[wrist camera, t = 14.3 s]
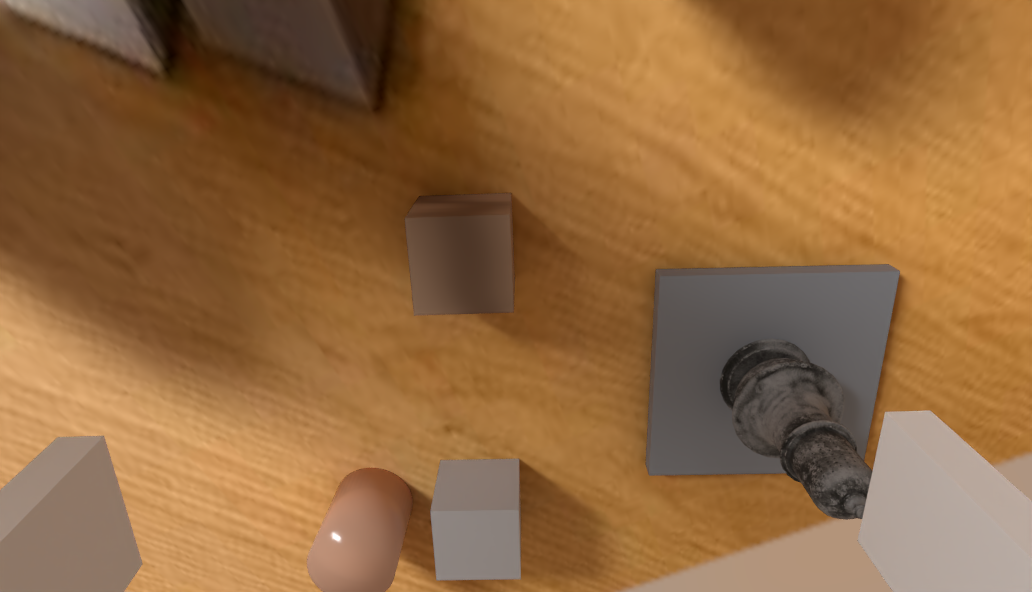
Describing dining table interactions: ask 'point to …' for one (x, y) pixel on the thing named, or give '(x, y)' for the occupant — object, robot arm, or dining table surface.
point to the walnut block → (461, 254)
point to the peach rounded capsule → (361, 533)
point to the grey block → (477, 520)
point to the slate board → (742, 320)
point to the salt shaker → (797, 422)
